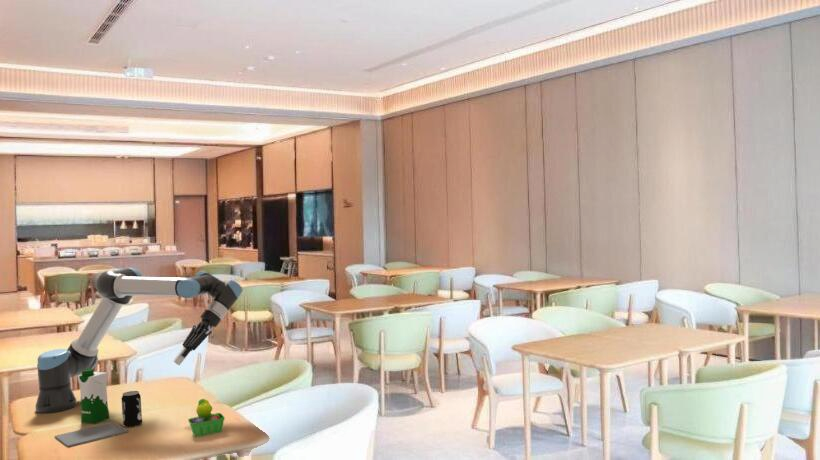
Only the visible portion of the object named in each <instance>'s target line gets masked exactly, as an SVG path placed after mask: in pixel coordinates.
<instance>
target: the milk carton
mask: <svg viewBox="0 0 820 460" xmlns="http://www.w3.org/2000/svg"><path fill="white" fill-rule="evenodd" d="M94 370H95V369H94V368H93V369H86V370H82V374H80V375H77V376H76V377H77V381H78V385H79V389H80V390H79V392H80V393H79V394H80V407H81V409H80V410H81V419H80V420H81V422H80V423H82V424H89V425H90V424H92V425H96V424H99V423H101V422H104V421H107V420H110V419H111V418H110V412H109V405H108V392H107V391H108V390H107V389H108V387H107V381H108V380H107V379H108V373H109V372H106V371H105V372H104V371H94Z"/></svg>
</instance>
